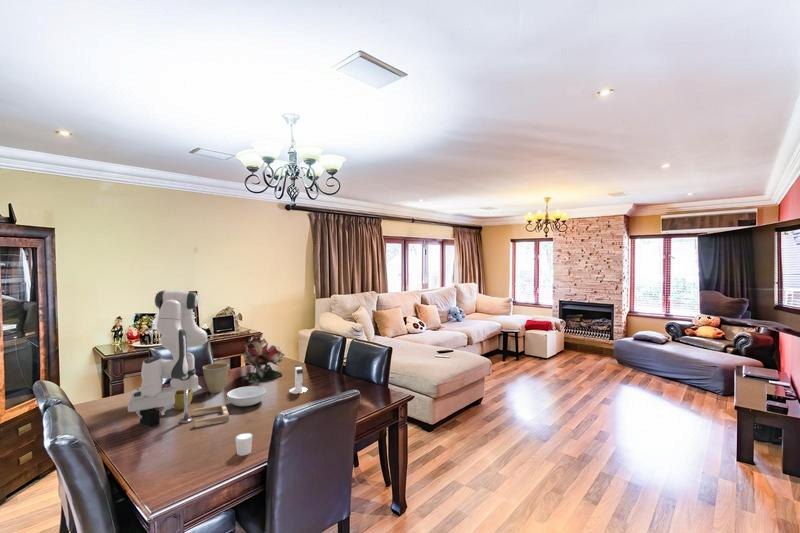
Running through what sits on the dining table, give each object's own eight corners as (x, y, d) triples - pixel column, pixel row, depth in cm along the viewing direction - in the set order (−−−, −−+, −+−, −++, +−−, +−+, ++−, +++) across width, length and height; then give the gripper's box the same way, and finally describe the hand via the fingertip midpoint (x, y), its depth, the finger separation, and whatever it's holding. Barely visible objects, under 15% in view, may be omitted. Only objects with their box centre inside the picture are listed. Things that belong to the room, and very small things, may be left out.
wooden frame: (193, 415, 204) (193, 409, 204) (224, 409, 212) (224, 403, 212) (195, 427, 189) (195, 421, 189) (229, 420, 197) (229, 415, 197)
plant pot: (233, 387, 248) (233, 363, 248) (220, 395, 233) (220, 369, 233) (211, 386, 250) (211, 362, 249) (197, 394, 235) (197, 368, 234)
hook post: (179, 420, 197) (179, 389, 197) (192, 417, 200) (192, 387, 200) (179, 427, 189) (179, 395, 189) (193, 424, 192) (193, 393, 192)
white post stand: (309, 392, 239) (309, 368, 239) (290, 394, 235) (290, 370, 235) (306, 386, 250) (306, 363, 250) (288, 388, 246) (288, 365, 246)
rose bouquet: (289, 374, 278) (288, 333, 277) (255, 385, 253) (254, 340, 253) (265, 368, 291) (265, 329, 291) (231, 378, 266) (230, 336, 266)
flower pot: (171, 411, 208) (171, 395, 208) (176, 406, 217) (176, 390, 216) (189, 410, 211) (189, 394, 210) (193, 404, 219) (193, 388, 219)
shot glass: (254, 448, 168) (254, 432, 168) (249, 456, 161) (249, 439, 161) (239, 448, 168) (239, 432, 168) (232, 456, 161) (232, 440, 161)
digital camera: (162, 423, 194) (162, 409, 194) (150, 427, 189) (150, 413, 189) (151, 419, 199) (151, 405, 199) (139, 422, 194) (139, 409, 194)
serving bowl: (252, 412, 209) (252, 399, 208) (218, 408, 213) (218, 396, 213) (272, 398, 229) (272, 387, 229) (241, 395, 233) (241, 384, 233)
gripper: (175, 384, 202) (175, 410, 202) (128, 391, 191) (128, 418, 191) (175, 387, 197) (175, 414, 197) (127, 394, 186) (127, 423, 186)
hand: (152, 416), depth 194 cm, fingers open, 8 cm apart
